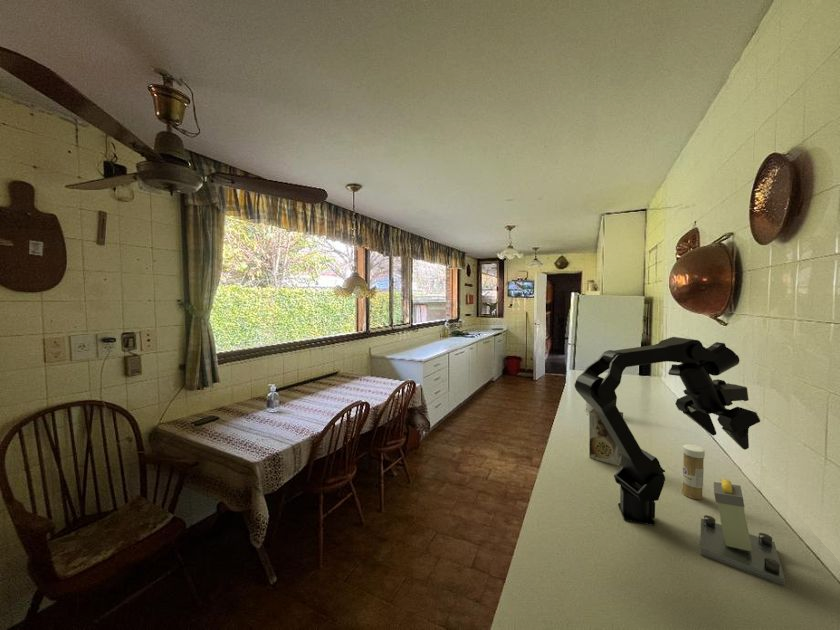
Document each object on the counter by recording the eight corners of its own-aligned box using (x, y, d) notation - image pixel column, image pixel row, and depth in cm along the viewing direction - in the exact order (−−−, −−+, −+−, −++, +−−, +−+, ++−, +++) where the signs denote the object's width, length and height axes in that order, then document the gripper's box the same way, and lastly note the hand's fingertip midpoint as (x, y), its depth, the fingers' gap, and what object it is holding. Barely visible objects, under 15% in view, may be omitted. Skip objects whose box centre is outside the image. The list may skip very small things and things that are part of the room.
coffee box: (623, 459, 110) (624, 412, 109) (619, 466, 105) (619, 417, 105) (593, 451, 116) (594, 406, 116) (588, 457, 112) (588, 411, 111)
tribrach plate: (700, 554, 70) (700, 540, 69) (700, 524, 79) (701, 512, 78) (784, 586, 62) (785, 571, 62) (774, 548, 71) (774, 535, 71)
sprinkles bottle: (677, 491, 92) (678, 444, 91) (692, 489, 92) (693, 443, 92) (692, 501, 88) (693, 451, 87) (707, 499, 88) (709, 450, 87)
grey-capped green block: (724, 545, 69) (712, 486, 70) (723, 531, 74) (712, 475, 74) (753, 552, 67) (741, 490, 67) (751, 537, 71) (739, 479, 71)
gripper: (766, 376, 72) (801, 442, 71) (701, 364, 91) (728, 416, 90) (717, 398, 73) (752, 463, 72) (662, 382, 91) (689, 433, 91)
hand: (729, 441), depth 81 cm, fingers open, 9 cm apart
